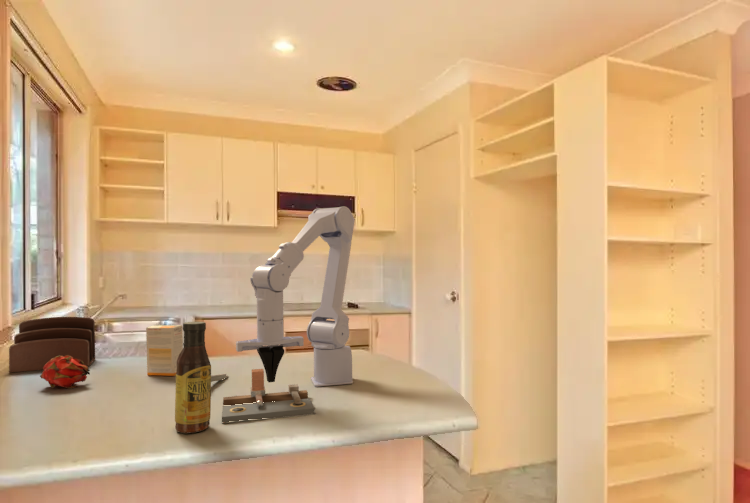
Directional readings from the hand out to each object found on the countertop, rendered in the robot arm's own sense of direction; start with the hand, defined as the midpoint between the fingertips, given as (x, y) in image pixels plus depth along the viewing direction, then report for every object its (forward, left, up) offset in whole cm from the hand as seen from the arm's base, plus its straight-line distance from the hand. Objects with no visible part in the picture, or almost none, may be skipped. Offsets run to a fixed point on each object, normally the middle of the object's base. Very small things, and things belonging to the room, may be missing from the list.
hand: (270, 381), depth 109 cm
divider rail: (+1, +4, -4) cm, 6 cm away
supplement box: (+26, -34, -5) cm, 43 cm away
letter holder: (+59, -55, -5) cm, 81 cm away
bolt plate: (+1, +8, -4) cm, 9 cm away
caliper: (+14, -16, -5) cm, 22 cm away
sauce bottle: (+15, +13, -5) cm, 20 cm away
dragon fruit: (+48, -28, -5) cm, 56 cm away
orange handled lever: (+3, +3, -3) cm, 5 cm away
